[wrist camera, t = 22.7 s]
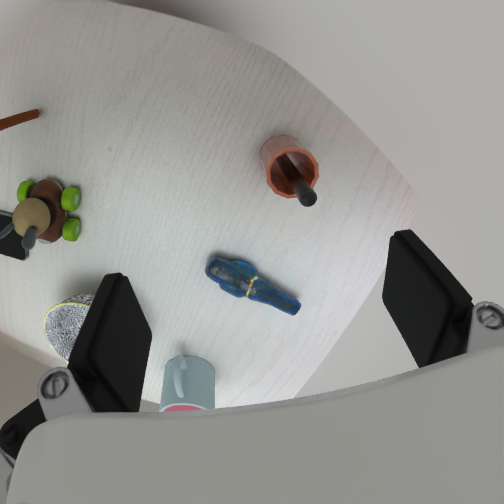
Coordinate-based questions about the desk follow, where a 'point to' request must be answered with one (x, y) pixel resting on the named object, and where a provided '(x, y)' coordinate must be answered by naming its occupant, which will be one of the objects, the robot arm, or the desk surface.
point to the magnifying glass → (19, 118)
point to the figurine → (248, 284)
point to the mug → (188, 385)
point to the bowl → (66, 323)
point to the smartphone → (11, 239)
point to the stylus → (297, 181)
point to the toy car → (44, 213)
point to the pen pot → (299, 159)
